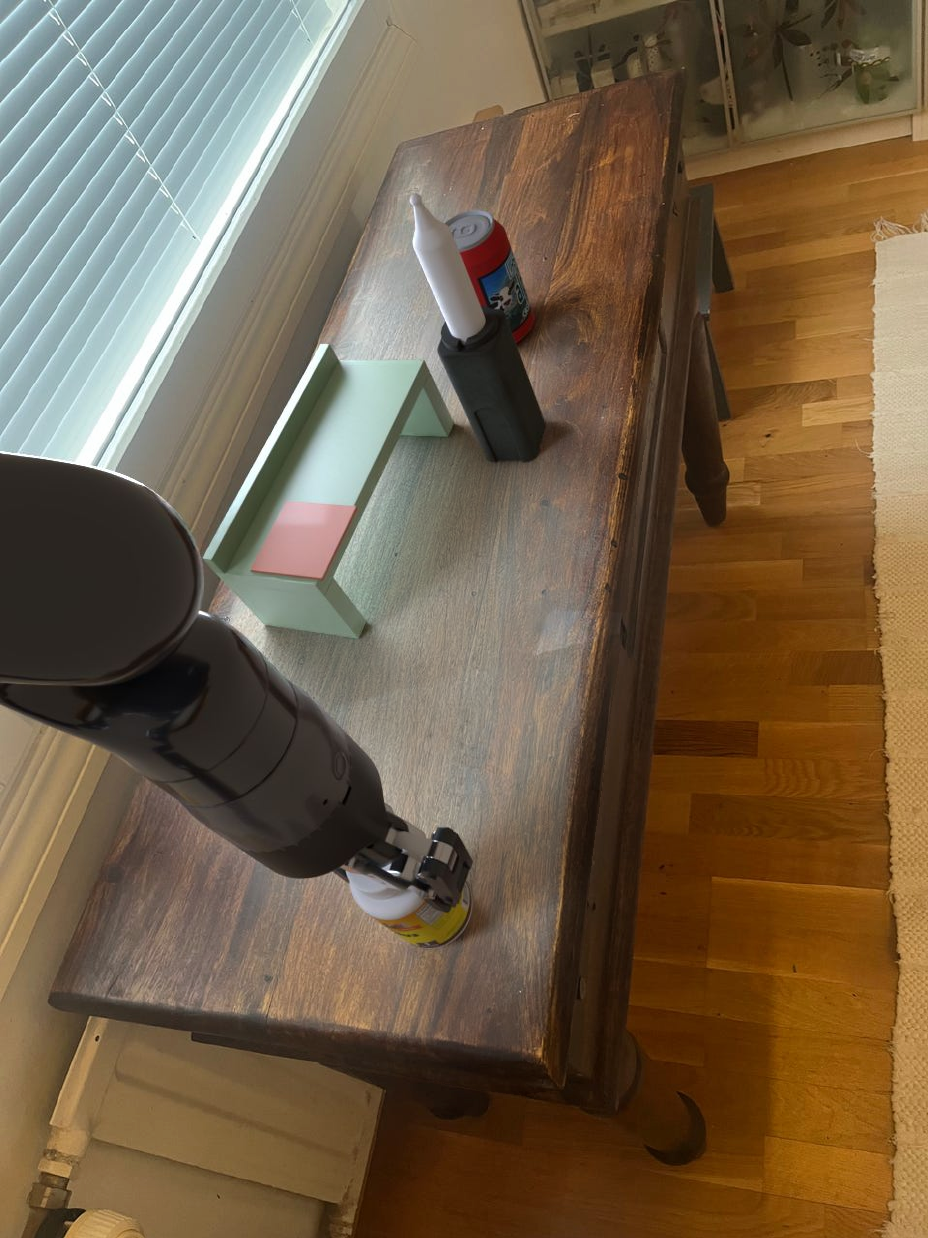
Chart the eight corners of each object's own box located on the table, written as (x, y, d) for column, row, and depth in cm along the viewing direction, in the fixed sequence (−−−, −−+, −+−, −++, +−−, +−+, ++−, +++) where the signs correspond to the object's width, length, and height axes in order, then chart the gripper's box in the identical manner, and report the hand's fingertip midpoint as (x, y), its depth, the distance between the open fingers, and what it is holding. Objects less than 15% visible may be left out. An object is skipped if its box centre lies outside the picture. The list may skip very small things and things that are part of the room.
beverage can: (532, 351, 89) (495, 245, 80) (466, 361, 92) (423, 260, 82) (539, 303, 93) (505, 197, 83) (476, 314, 95) (435, 212, 86)
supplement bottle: (381, 920, 63) (313, 871, 55) (432, 853, 64) (373, 795, 56) (440, 970, 60) (376, 925, 52) (492, 898, 61) (438, 844, 53)
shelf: (363, 639, 77) (309, 571, 69) (263, 624, 82) (201, 558, 74) (459, 422, 87) (421, 341, 79) (365, 420, 92) (320, 343, 84)
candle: (548, 418, 84) (456, 165, 64) (536, 462, 81) (437, 213, 62) (496, 421, 86) (391, 176, 66) (483, 463, 83) (370, 223, 64)
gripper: (128, 815, 46) (288, 912, 59) (373, 886, 40) (491, 977, 53) (197, 683, 49) (334, 804, 63) (433, 729, 43) (530, 852, 56)
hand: (406, 883), depth 58 cm, fingers closed on supplement bottle, 5 cm apart
